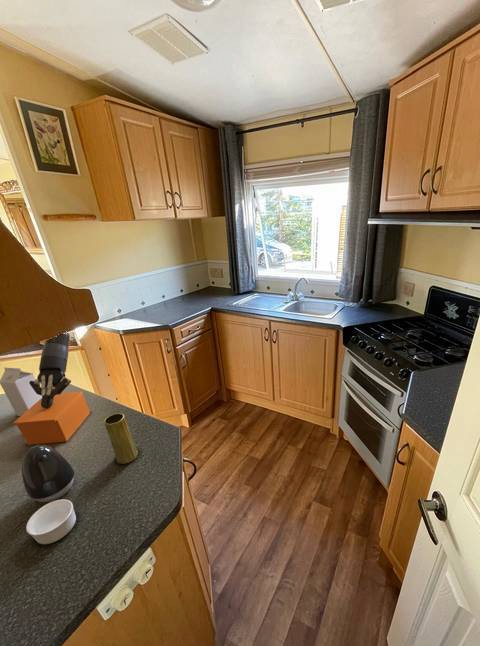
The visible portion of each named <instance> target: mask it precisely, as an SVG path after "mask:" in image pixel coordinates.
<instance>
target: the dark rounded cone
mask: <svg viewBox="0 0 480 646" xmlns="http://www.w3.org/2000/svg"><path fill="white" fill-rule="evenodd" d="M21 476H22V478H21V479H22V482H23V483H22V484H23V486H24V490H25V492H26V495H27V496H28V497H29V498H31V499H33V500H35V501H37V502H40V503H50V502H53V501H56V500H59V499H60V498H61V497H63V496H64V495H66V494H67V493H68V492H69V491H70V489H71V488H72V485H73V483H74V479H75V478H74V477H75V471H74V468H73V467H72V465H71V464H70V462H69V461H68V460H67V459H66V458H65V457H64V456H63V455H62V454H61V453H59V451H58V450H55V449H54V448H52V447H51V446H48V445H46V444H36V445H34V446H31V447H30V448H28V449H27V451H26V452H25V453H24V454H23V457H22V461H21Z"/></svg>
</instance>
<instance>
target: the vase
mask: <svg viewBox="0 0 480 646" xmlns="http://www.w3.org/2000/svg"><path fill="white" fill-rule="evenodd" d="M103 425H104V426H105V429H106V432H107V434H108V437H109V441H110V444H111V447H112V449H113V453H114V455H115V461H116V463H117V464H121V465H125V464H129V463H131V462H133V461H134V460H135V459H136V458H137V457H138V455H139V451H138V448H137V446H136V444H135V442H134V439H133V437H132V434H131V431H130V429H129V425H128V422H127V420H126V416H125V414H124V413H121V412H115V413H112V414H110V415H108V416H106V417H105V418H104V420H103Z"/></svg>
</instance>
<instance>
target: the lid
mask: <svg viewBox="0 0 480 646" xmlns="http://www.w3.org/2000/svg"><path fill="white" fill-rule="evenodd" d="M81 394H83V391H72V392H70V391H69V392H62V393H61V394H59V395H58V394H57V395H55V396H54V399H53V404H52V406H51V407H50V408H43V407H42V406H41V400H42V398H41V399H40V400H39V401H38V402H37V403H35V404H34V405H33V406H32V407H31V408H30V409H29V410H27V411H26V412H25V413H24V414H23V415H22V416H18V418H17V419H16V420H15V421H13V422H12V425H13V426H17V425H20V424H33V423H45V422H56V420H57V419H58V418H59V417H60V416H61V415H62V414H63V413H64V412H65V411H66V410H67V409H68V408H69V407H70V406H71V405H72V404H73V403H74V402H75V400H76V399H77V398H78V397H79V396H80V395H81Z"/></svg>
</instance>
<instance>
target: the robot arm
mask: <svg viewBox="0 0 480 646" xmlns="http://www.w3.org/2000/svg"><path fill="white" fill-rule="evenodd" d="M70 341H71V335H70V333H69V332H68V333H65V334H62V335H59V336H57V337H54V338H52V339H49V340H45V339H44V345H43V347H42V350H41V356H40V360H39V367H38V371H39V373H38V374H37V378H35V379H36V380H34V381H30V382H29V384H30V385H31V387H32V388H33V389H34V391H35V392H36V394H38V395H41V396H42V400H41V406H42V407H43V408H50V407H51V406H52V404H53V399H54V396H55V395H57V394H58V395H59V394H61V393H64V391H65V389H67V387H68V386H70V385H71V383H72V380H71V379H70V378H67V377H66V371H67V366H68V360H69V349H70V348H69V347H70Z"/></svg>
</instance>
